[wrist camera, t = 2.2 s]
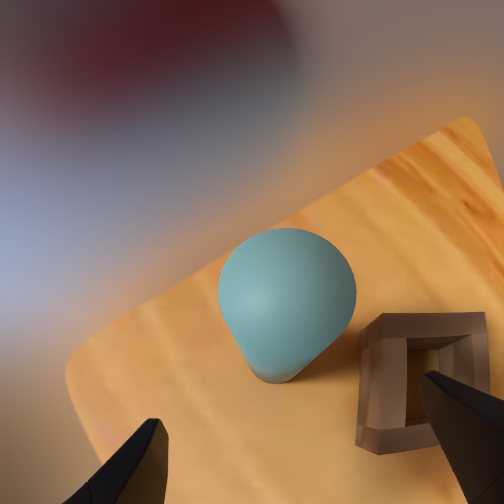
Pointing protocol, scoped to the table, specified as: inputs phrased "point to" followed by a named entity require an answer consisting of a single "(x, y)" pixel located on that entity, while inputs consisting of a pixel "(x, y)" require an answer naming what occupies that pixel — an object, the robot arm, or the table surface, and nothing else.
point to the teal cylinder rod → (285, 300)
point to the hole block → (395, 372)
